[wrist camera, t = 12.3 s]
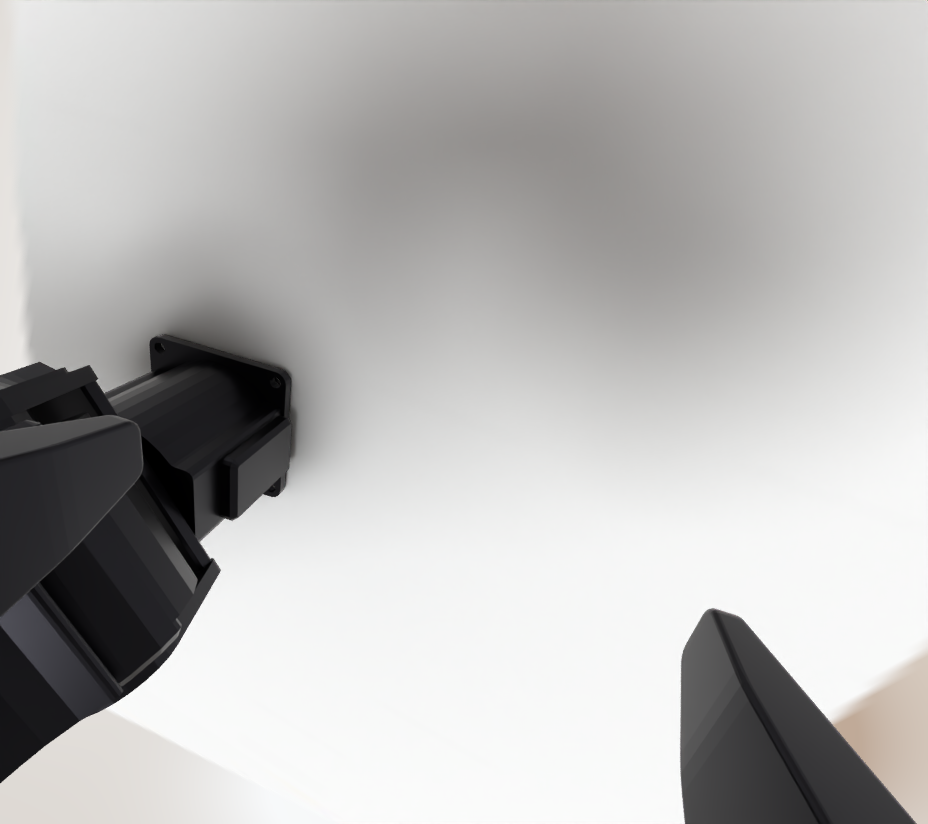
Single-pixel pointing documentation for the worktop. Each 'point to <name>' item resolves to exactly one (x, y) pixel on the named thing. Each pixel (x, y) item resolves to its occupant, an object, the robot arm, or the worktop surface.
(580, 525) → the worktop surface
